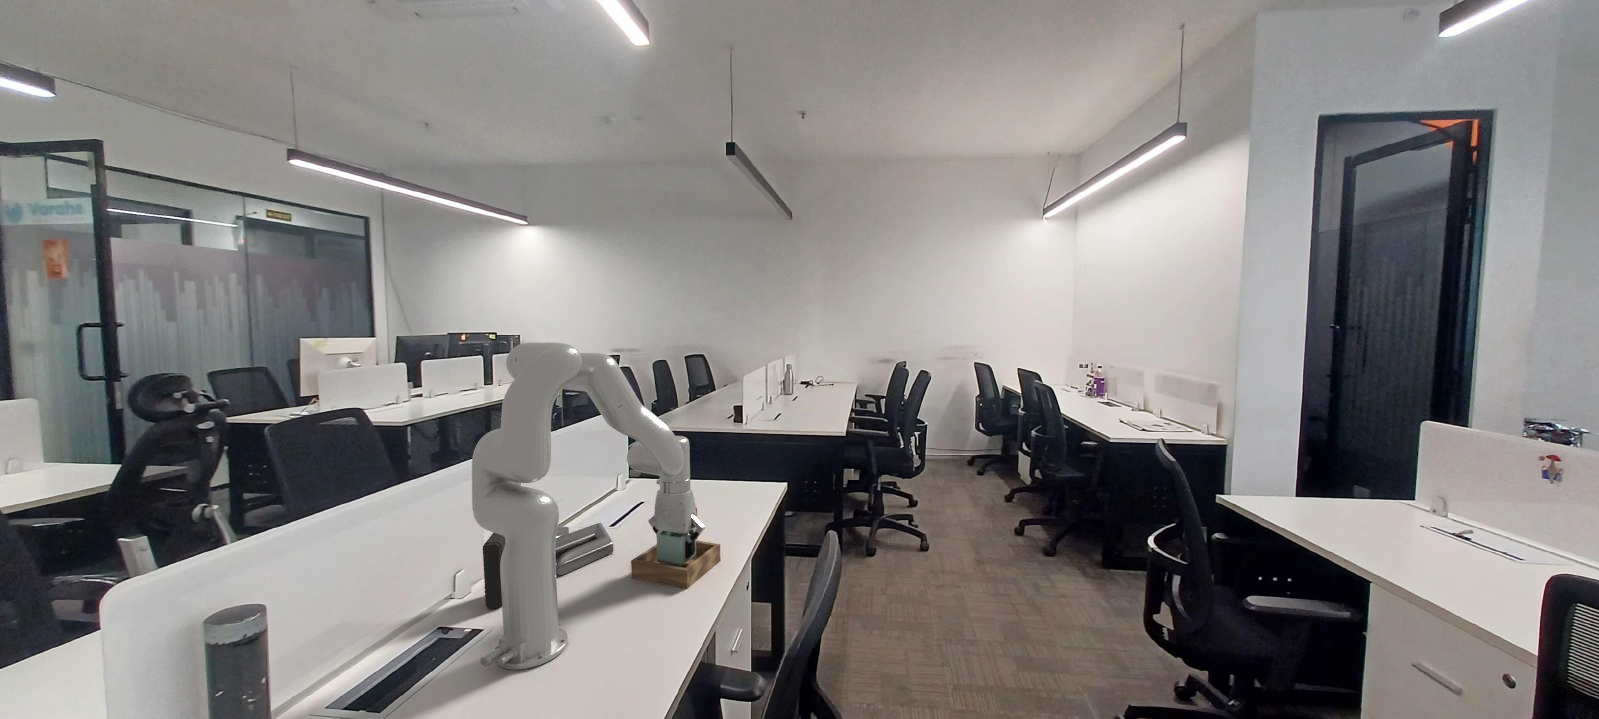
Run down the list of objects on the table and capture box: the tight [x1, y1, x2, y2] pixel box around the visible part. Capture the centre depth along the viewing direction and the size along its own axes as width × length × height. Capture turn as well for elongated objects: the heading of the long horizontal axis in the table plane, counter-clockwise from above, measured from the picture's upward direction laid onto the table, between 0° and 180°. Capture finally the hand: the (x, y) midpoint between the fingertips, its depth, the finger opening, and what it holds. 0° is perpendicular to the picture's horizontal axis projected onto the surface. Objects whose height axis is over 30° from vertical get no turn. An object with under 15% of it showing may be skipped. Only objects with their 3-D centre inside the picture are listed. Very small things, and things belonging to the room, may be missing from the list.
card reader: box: [482, 532, 506, 610], centre depth 124 cm, size 9×4×15 cm, turn 14°
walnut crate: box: [630, 540, 721, 590], centre depth 139 cm, size 16×16×4 cm
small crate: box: [656, 528, 696, 566], centre depth 138 cm, size 7×7×7 cm
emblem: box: [555, 522, 614, 576], centre depth 148 cm, size 28×5×28 cm
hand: (676, 553), depth 138 cm, fingers closed on small crate, 7 cm apart
